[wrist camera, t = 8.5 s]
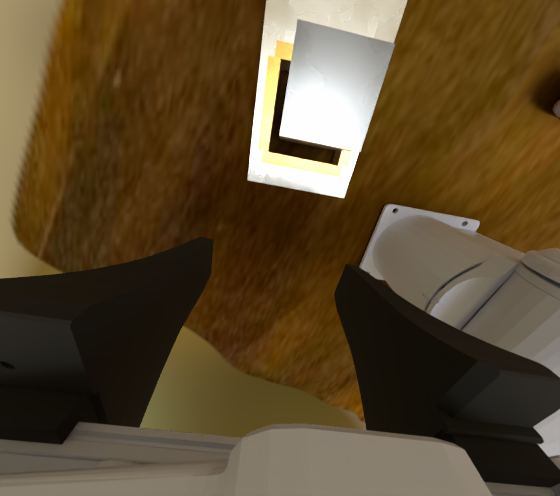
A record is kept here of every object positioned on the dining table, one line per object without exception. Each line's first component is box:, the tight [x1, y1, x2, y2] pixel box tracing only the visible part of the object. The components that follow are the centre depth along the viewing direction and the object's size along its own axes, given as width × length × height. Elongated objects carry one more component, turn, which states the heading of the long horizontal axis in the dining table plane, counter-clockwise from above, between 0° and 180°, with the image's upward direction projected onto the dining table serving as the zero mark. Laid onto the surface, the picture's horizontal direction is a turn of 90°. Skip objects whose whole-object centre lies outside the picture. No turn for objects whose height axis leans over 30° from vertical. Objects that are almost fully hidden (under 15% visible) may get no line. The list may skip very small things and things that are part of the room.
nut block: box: [279, 19, 395, 152], centre depth 12 cm, size 4×4×8 cm
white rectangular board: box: [247, 0, 407, 198], centre depth 13 cm, size 8×22×2 cm, turn 170°
